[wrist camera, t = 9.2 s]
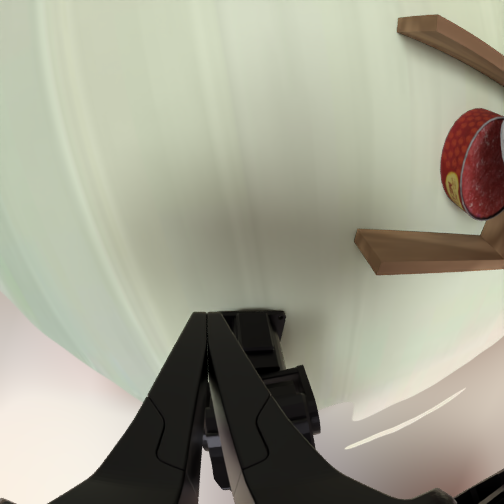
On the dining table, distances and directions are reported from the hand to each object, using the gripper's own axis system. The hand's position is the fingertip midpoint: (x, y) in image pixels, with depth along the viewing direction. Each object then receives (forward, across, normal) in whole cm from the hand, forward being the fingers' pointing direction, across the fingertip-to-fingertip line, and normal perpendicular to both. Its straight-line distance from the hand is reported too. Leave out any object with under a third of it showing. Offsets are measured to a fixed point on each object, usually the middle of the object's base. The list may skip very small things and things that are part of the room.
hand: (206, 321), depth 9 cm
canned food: (+13, -23, -4) cm, 27 cm away
